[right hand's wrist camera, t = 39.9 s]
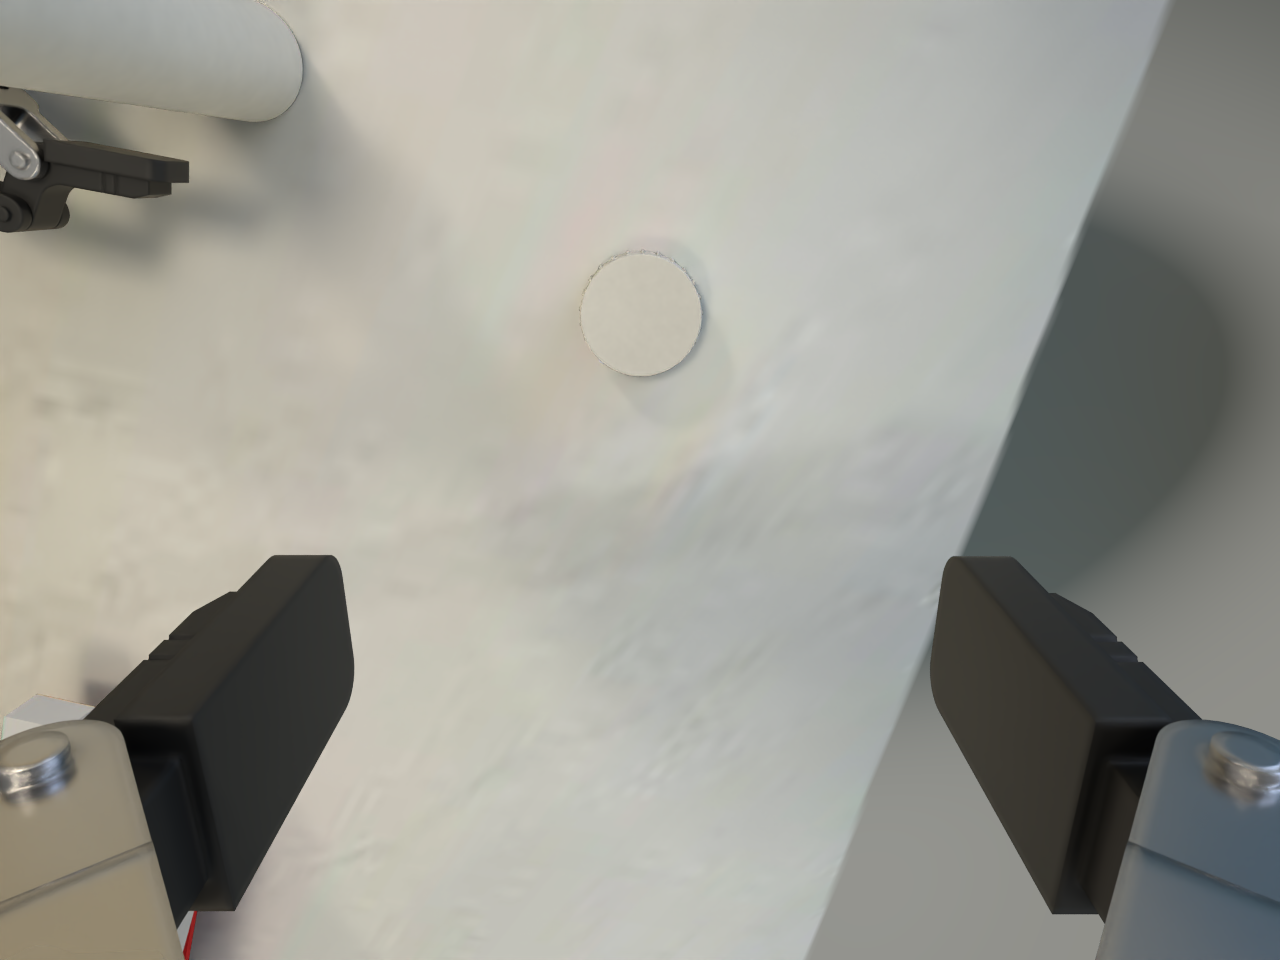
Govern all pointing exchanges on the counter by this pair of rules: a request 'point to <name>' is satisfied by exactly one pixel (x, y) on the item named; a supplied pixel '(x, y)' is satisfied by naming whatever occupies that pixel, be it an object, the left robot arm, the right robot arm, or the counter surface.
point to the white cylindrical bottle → (154, 54)
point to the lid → (640, 313)
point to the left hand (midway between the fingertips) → (177, 32)
